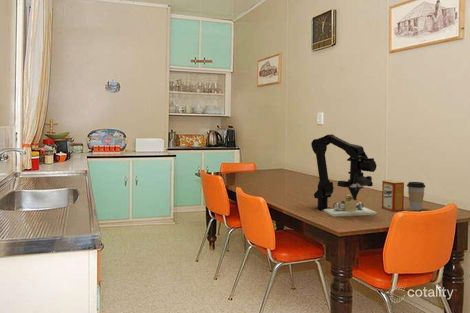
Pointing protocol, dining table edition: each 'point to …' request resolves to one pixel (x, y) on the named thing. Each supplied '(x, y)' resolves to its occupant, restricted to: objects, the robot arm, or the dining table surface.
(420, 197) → the coffee cup
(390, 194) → the baking soda box
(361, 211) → the board
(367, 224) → the dining table surface
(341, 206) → the valve
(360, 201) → the lever
